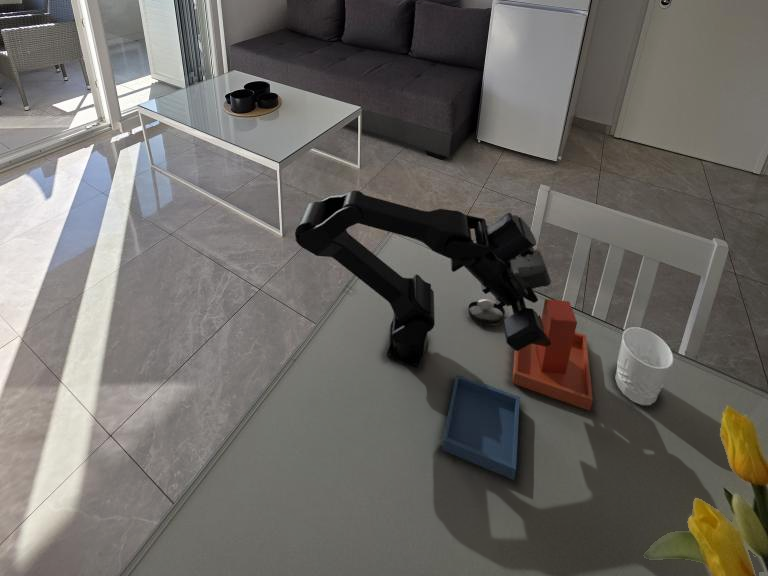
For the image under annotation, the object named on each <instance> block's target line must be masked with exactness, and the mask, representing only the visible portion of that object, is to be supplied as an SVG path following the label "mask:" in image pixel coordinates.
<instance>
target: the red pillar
mask: <svg viewBox="0 0 768 576" xmlns="http://www.w3.org/2000/svg"><path fill="white" fill-rule="evenodd" d="M540 318H541V321H542V324H543V328H544V333H545V334H546V335H547V337H548V338H549V340H550V341H551V345H549V346H547V347H546V346H541V345H536V349H535V350H536V354H537V357H538V361H539V365H540V369H541V372H550V373H560V374H565V373H566V369H567V365H568V360H569V356H570V351H571V347H572V343H573V338H574V334H575V332H576V330H577V325H578V324H577V323H578V321H577V317H576V315H575V312H574V310H573V308H572V305H571V302H570V301H569V300H560V299H559V300H558V299H549V298H545V299H544V303H543V308H542V313H541V317H540Z"/></svg>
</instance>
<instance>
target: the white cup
mask: <svg viewBox="0 0 768 576" xmlns="http://www.w3.org/2000/svg"><path fill="white" fill-rule="evenodd" d="M673 364H674V353H673V352H672V350H671V348H670V347H669V345H668V344H667V342H666V341H665V340H664V339H662V338H661V337H660V336H658V335H657V334H656V333H654V332H652V331H650V330H649V329H646V328H642V327H638V326H632V327H628V328H626V329H624V331H623V332H622V337H621V341H620V346H619V351H618V356H617V362H616V366H617V367H616V372H615V376H614V378H615V382H616V385H617V387H618V389H619V390H620V392H621V393H622V394H623V395H624V396H625V397H626V398H628V399H629V400H630V401H631V402H633V403H635V404H637V405H640V406H652V405H653V404H654V403H655V402H657V399H658V396H659V394H660V392H661V391H662V389H663V388H664V385H665V382H666V380H667V378H668V375H669V373H670V370H671V368H672V366H673Z"/></svg>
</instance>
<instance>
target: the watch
mask: <svg viewBox="0 0 768 576" xmlns="http://www.w3.org/2000/svg"><path fill="white" fill-rule="evenodd" d="M473 307H479V308H480V309H482V310H483V309H484V310H489V309H492V308H494V309H497V310H499V311H500V313H501V314H502V317H499V318H498V319H487V318H486V319H485V318H480V317H477V316H476V315H474V314H473V313H472V311H471V308H473ZM467 311H468V315H469V317H470V319H472V320H473V321H475V322H476V323H479V324H482V325H486V326H490V325H497V324H500V323H501V322H503V321H504V317H505V314H506V311H505V308H504V306H503V307H502V308H499V307H498V306H497V304H496V302H493V301H492V300H491V299H488V298H482V299H479V300H477V301H472V302H470V303H469V305H468V310H467Z"/></svg>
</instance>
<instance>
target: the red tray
mask: <svg viewBox="0 0 768 576" xmlns="http://www.w3.org/2000/svg"><path fill="white" fill-rule="evenodd" d="M535 349H536V344H530V345H528V346H526V347H524V348H522V349H520V350H518V351H515V350H514V355H513V367H512V384H513V385H515V386H518V387H521V388H524V389H527V390H530V391H533V392H536V393H539V394H541V395H544V396H546V397H549V398H553V399H555V400H558V401H562V402H564V403H567V404H570V405H573V406H576V407H578V408H581V409H584V410H587V411H591V408H592V405H593V401H594V399H593V391H592V390H593V389H592V388H593V387H592V379H591V370H590V359H589V351H588V340H587V335H586V334H583V333H580V332H577V331H575V334H574V338H573V343H572V347H571V351H570V356H569V360H568V365H567V369H566V373H565V374H560V373H550V372H541V369H540V365H539V361H538V357H537V354H536V350H535Z"/></svg>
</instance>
